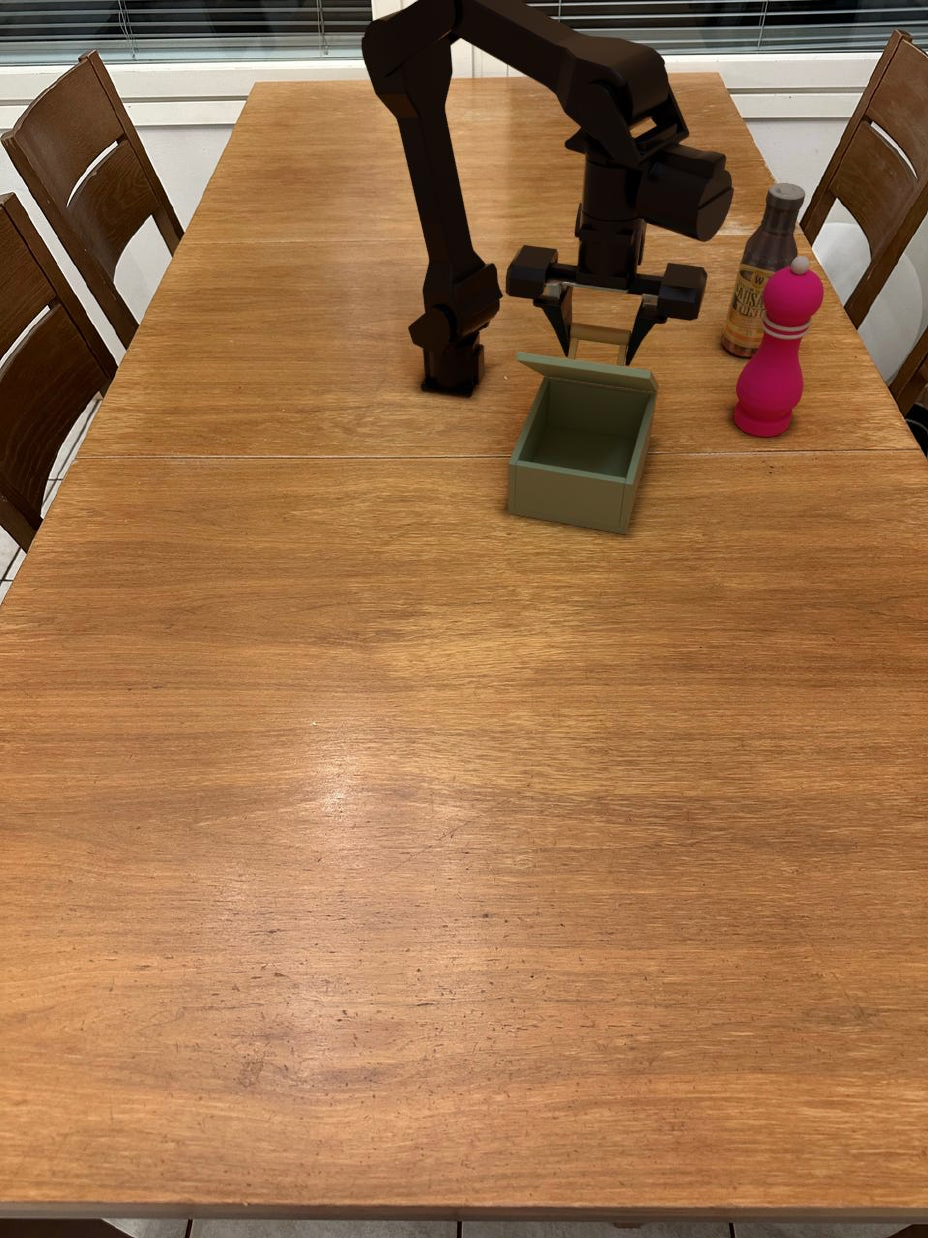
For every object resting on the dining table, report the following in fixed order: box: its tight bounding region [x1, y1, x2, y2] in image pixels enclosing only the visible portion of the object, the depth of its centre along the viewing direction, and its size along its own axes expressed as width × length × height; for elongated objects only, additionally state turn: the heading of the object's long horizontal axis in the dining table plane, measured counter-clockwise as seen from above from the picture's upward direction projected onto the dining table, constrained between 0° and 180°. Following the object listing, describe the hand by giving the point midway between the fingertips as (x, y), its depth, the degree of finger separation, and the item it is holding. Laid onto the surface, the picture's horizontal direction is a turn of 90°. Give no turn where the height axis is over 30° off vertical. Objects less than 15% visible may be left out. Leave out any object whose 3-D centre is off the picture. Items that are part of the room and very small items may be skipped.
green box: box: [507, 376, 658, 535], centre depth 101 cm, size 16×13×7 cm
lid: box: [515, 322, 660, 394], centre depth 95 cm, size 16×13×5 cm
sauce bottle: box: [721, 182, 806, 358], centre depth 112 cm, size 6×6×20 cm
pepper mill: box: [733, 255, 825, 438], centre depth 102 cm, size 7×7×20 cm
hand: (598, 359), depth 98 cm, fingers closed on lid, 6 cm apart
